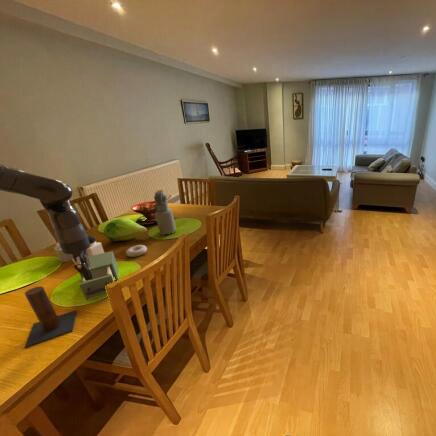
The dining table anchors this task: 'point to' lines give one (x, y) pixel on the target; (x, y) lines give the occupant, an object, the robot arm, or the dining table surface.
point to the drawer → (97, 282)
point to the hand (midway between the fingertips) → (89, 278)
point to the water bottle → (163, 214)
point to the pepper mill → (42, 308)
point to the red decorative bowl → (146, 212)
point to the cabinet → (103, 262)
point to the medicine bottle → (94, 247)
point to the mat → (40, 335)
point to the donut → (136, 251)
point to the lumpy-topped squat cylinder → (62, 254)
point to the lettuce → (123, 230)
